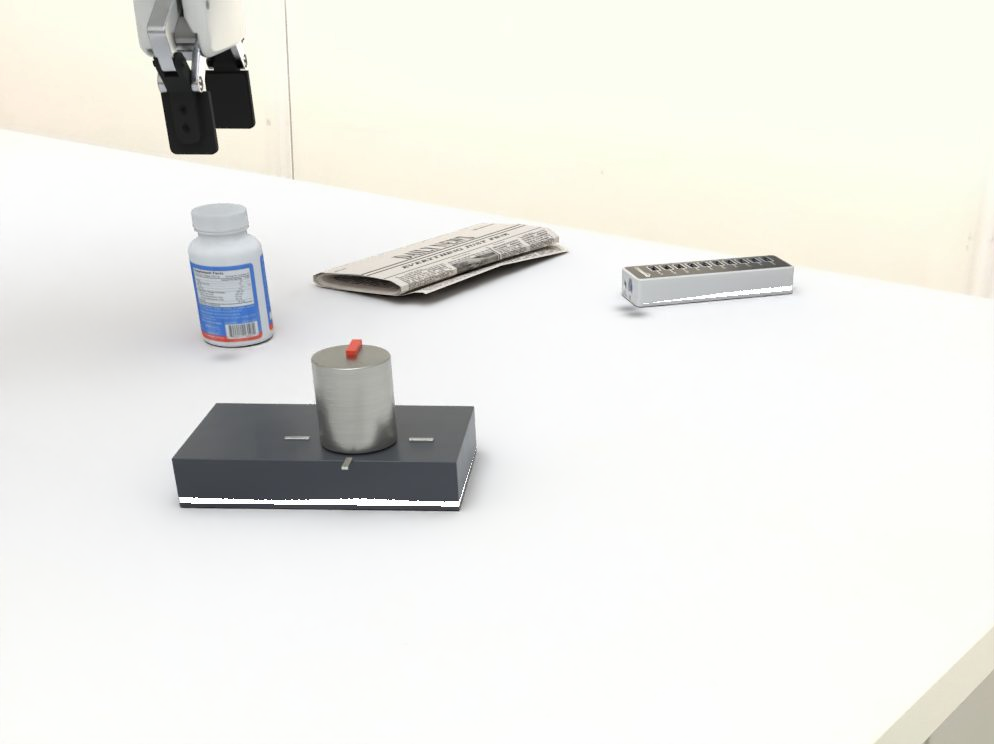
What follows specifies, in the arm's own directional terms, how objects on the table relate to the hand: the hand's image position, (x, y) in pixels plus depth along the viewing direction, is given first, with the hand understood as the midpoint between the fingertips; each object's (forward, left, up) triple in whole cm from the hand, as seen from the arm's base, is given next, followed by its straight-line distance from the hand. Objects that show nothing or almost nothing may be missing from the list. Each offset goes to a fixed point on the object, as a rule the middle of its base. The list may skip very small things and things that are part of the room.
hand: (215, 140), depth 96 cm
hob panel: (+12, -27, -15) cm, 33 cm away
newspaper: (+13, +21, -15) cm, 29 cm away
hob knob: (+14, -28, -12) cm, 34 cm away
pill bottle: (-1, 0, -15) cm, 15 cm away
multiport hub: (+36, +14, -15) cm, 42 cm away
